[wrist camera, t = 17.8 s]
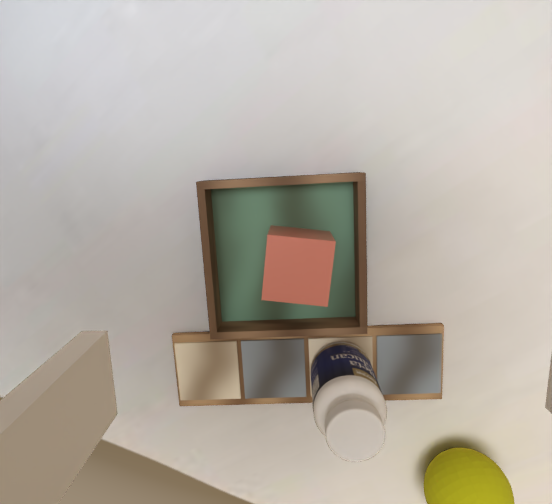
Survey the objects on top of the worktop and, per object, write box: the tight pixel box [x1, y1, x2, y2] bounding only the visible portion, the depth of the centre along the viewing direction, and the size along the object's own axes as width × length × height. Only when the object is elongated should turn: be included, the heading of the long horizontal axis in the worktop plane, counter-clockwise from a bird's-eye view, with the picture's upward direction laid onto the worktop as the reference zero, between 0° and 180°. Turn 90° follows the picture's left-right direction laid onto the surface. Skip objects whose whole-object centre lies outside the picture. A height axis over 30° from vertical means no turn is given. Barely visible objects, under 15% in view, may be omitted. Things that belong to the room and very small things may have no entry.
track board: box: [172, 323, 444, 406], centre depth 38 cm, size 24×7×1 cm, turn 93°
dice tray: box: [196, 172, 367, 340], centre depth 35 cm, size 13×13×3 cm
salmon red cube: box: [261, 225, 336, 307], centre depth 34 cm, size 5×5×5 cm
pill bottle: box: [310, 342, 387, 462], centre depth 33 cm, size 5×5×10 cm
